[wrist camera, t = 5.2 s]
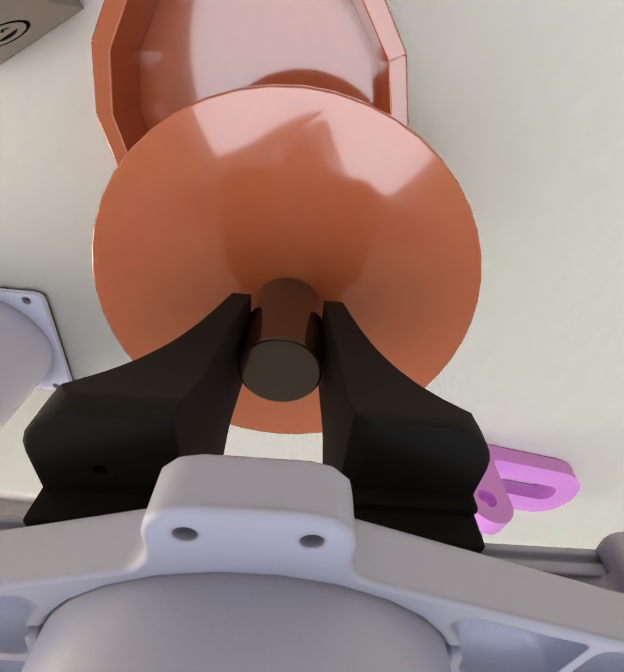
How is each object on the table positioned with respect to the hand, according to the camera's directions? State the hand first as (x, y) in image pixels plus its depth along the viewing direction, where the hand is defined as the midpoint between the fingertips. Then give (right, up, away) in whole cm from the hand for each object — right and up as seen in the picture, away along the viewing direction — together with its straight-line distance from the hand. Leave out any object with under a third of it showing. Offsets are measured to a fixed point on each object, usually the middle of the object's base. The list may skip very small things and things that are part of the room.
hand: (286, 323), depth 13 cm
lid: (0, +1, +1) cm, 2 cm away
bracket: (+17, -12, +21) cm, 29 cm away
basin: (-2, +10, +5) cm, 12 cm away
